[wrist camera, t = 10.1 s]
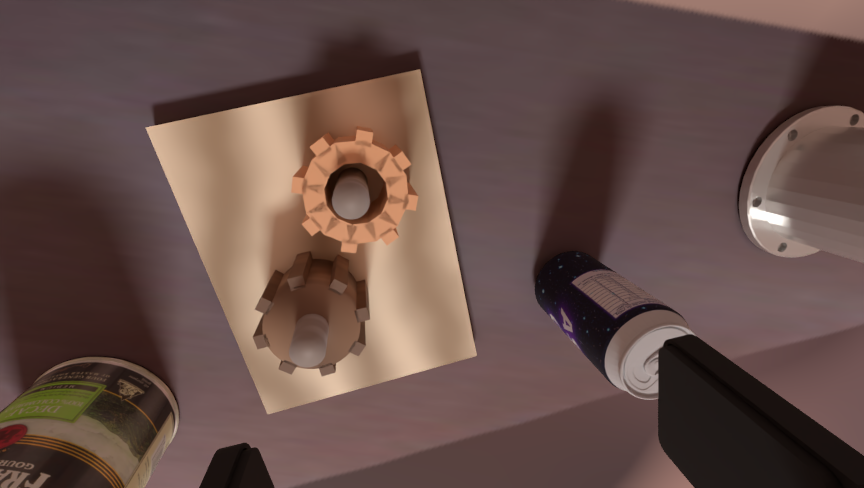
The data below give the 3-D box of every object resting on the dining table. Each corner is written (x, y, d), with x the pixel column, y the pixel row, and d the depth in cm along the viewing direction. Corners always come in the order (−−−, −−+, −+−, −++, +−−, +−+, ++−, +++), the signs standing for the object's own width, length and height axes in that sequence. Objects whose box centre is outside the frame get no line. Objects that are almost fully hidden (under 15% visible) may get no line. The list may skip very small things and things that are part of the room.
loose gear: (367, 103, 27) (369, 103, 23) (429, 192, 29) (441, 207, 25) (278, 168, 27) (263, 180, 23) (347, 251, 30) (345, 275, 25)
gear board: (417, 70, 28) (441, 57, 20) (473, 347, 35) (506, 417, 27) (154, 126, 26) (67, 135, 18) (270, 404, 34) (244, 494, 26)
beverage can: (517, 278, 34) (596, 363, 23) (572, 233, 34) (681, 298, 22) (554, 323, 36) (643, 422, 25) (606, 281, 35) (722, 363, 24)
